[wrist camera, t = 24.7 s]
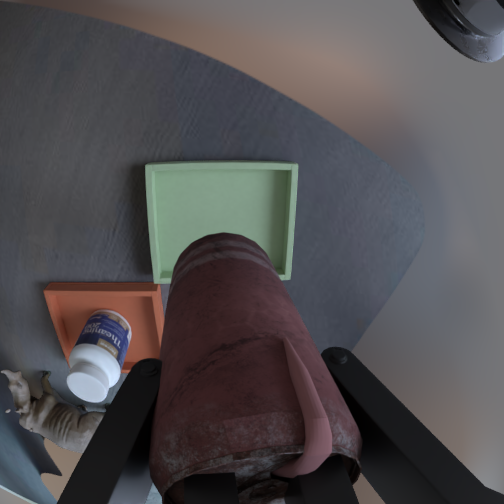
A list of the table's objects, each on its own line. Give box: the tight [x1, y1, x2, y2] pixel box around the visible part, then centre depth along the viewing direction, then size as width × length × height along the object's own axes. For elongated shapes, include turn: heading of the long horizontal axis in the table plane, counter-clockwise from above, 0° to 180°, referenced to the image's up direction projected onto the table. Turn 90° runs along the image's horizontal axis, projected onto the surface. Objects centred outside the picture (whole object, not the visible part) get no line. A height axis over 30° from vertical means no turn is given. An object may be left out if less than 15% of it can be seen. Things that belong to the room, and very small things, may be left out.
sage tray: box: [145, 160, 298, 284], centre depth 28 cm, size 13×11×2 cm
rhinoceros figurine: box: [1, 369, 110, 453], centre depth 31 cm, size 8×14×15 cm
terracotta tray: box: [43, 282, 164, 373], centre depth 31 cm, size 13×11×2 cm
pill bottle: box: [67, 309, 132, 402], centre depth 27 cm, size 5×5×10 cm
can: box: [149, 232, 363, 504], centre depth 12 cm, size 6×6×14 cm
